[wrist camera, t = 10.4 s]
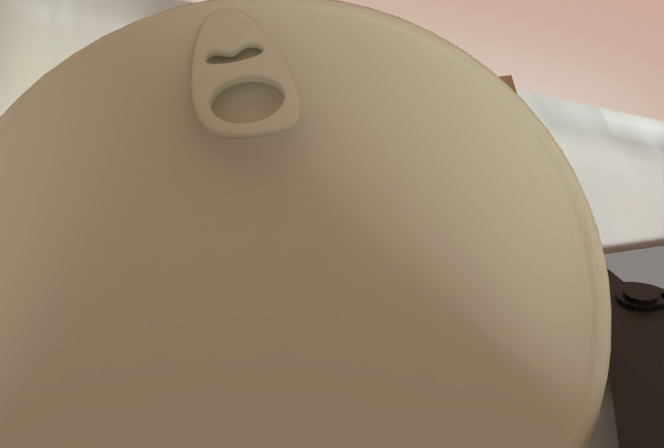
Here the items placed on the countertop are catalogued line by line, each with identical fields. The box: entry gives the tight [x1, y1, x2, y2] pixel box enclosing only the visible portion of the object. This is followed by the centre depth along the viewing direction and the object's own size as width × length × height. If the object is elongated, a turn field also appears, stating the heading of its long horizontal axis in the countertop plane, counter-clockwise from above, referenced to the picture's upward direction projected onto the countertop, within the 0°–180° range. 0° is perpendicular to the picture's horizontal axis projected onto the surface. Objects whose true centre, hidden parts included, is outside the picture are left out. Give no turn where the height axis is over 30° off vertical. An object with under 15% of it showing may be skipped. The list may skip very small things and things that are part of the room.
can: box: [0, 0, 611, 448], centre depth 13 cm, size 9×9×12 cm
